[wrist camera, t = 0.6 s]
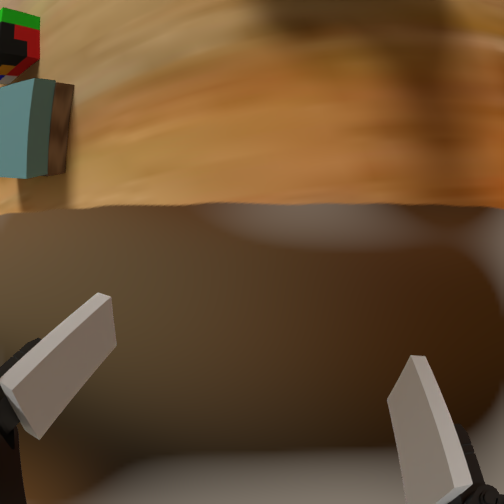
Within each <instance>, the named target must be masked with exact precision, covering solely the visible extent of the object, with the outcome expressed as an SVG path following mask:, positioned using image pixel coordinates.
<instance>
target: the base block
mask: <svg viewBox="0 0 504 504" xmlns="http://www.w3.org/2000/svg"><path fill="white" fill-rule="evenodd" d="M73 90H74V85H71V84H64V83H55V89H54V96H53V104H52V112H51V121H50V133H49V147H48V174H46V175H41V176H52V175H56V174H61V173H65V169H66V151H67V138H68V128H69V119H70V111H71V103H72V96H73Z"/></svg>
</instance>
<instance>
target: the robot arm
mask: <svg viewBox="0 0 504 504" xmlns="http://www.w3.org/2000/svg"><path fill="white" fill-rule="evenodd" d="M116 345H117V343H116V335H115V328H114V319H113V310H112V300H111V296H107V295H104V294H101V293H97V294H96V295H94V296H93V297H92V298H90V299H89V300H88V301H87V302H86V303H84V304H83V305H82V306H81V307H80V308H78V309H77V310H76V311H75V312H74V313H72V314H71V315H70V316H69V317H68V318H67V319H65V320H64V321H63V322H62V323H61V324H59V325H58V326H57V327H56V328H55V329H54V330H52V331H51V332H50V333H49V334H48V335H47V336H46V337H44V338H43V339H40V338H37V339H35V340H33V341H31V342H28V343H27V344H26V345H24V347H22V348H21V349H20V351H18V352H17V353H15V354H14V355H13V357H11V358H10V359H9V360H8V361H6V362H5V363H4V364H3V365H2V366H1V367H0V504H27V503H26V497H25V492H24V486H23V479H22V470H21V461H20V452H19V434H18V428H17V426H16V425H17V424H18V423H19V422H21V424H22V426H23V427H24V429H25V431H27V432H28V433H30V434H31V435H33V436H34V437H36V438H37V439H39V440H40V438H41V437H42V436H43V434H44V433H45V432H46V431H47V429H48V428H49V427H50V426H51V424H52V423H53V422H54V421H55V419H56V418H57V417H58V416H59V414H60V413H61V412H62V411H63V409H64V408H65V407H66V406H67V404H68V403H69V402H70V400H71V399H72V398H73V397H74V396H75V394H76V393H77V392H78V391H79V389H80V388H81V387H82V386H83V385H84V383H85V382H86V381H87V380H88V379H89V377H90V376H91V375H92V374H93V373H94V371H95V370H96V369H97V368H98V367H99V365H100V364H101V363H102V362H103V361H104V360H105V358H106V357H107V356H108V355H109V353H110V352H111V351H112V350H113V349H114V348H115V347H116ZM387 402H388V406H389V411H390V415H391V420H392V425H393V430H394V435H395V440H396V445H397V449H398V455H399V461H400V467H401V473H402V478H403V485H404V493H405V500H406V504H504V495H502V494H499V492H498V491H497V489H496V488H494V487H493V486H490V485H486V484H485V482H484V480H483V476H482V473H481V470H480V467H479V464H478V461H477V458H476V455H475V454H474V449H473V446H472V445H471V441H470V439H469V436H468V433H467V432H466V430H465V429H464V428H463V427H462V426H461V424H453V422H452V419H451V417H450V414H449V411H448V409H447V406H446V404H445V401H444V399H443V396H442V394H441V391H440V389H439V387H438V384H437V382H436V380H435V377H434V375H433V373H432V371H431V368H430V366H429V364H428V361H427V359H426V357H425V356H415V355H410V358H409V359H408V361H407V363H406V366H405V367H404V369H403V371H402V373H401V375H400V377H399V379H398V381H397V383H396V384H395V386H394V388H393V390H392V392H391V393H390V395H389V397H388V399H387Z"/></svg>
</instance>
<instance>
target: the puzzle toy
mask: <svg viewBox="0 0 504 504" xmlns="http://www.w3.org/2000/svg"><path fill="white" fill-rule="evenodd" d="M39 59H40V17H37V16H34V15H30V14H27V13H23V12H19V11H16V10H12V9H8V8H4V7H3V8H2V9H1V10H0V84H10V83H11V82H12V81H13V80H14V79H15V78H17V77H18V76H19V75H20V74H21V73H23V72H24V71H25V70H26V69H27V68H29V67H30V66H31V65H32V64H34V63H35V62H36V61H38V60H39Z"/></svg>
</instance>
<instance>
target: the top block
mask: <svg viewBox="0 0 504 504" xmlns="http://www.w3.org/2000/svg"><path fill="white" fill-rule="evenodd" d="M55 83H56V81H55V80H48V79H39V78H33V79H29V80H25V81H21V82H18V83H14V84H11V85H7V86H4V87H1V88H0V177H8V178H22V179H28V178H32V177H37V176H41V175H46V174H48V147H49V133H50V121H51V112H52V104H53V96H54V89H55Z"/></svg>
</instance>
